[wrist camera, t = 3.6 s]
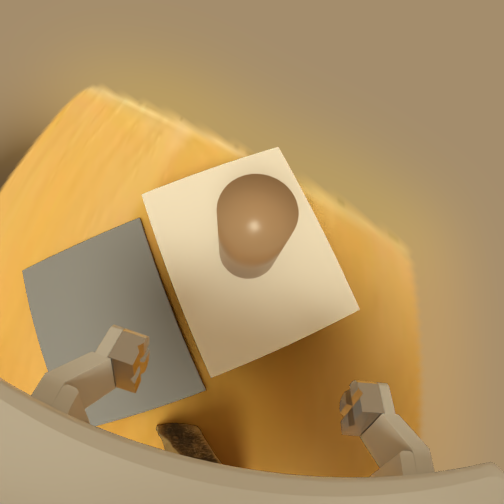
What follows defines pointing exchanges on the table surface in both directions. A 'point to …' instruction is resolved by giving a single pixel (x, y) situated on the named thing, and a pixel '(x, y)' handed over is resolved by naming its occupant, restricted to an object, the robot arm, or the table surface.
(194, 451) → the rock
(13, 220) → the table surface
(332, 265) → the lid
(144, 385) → the slate mat
